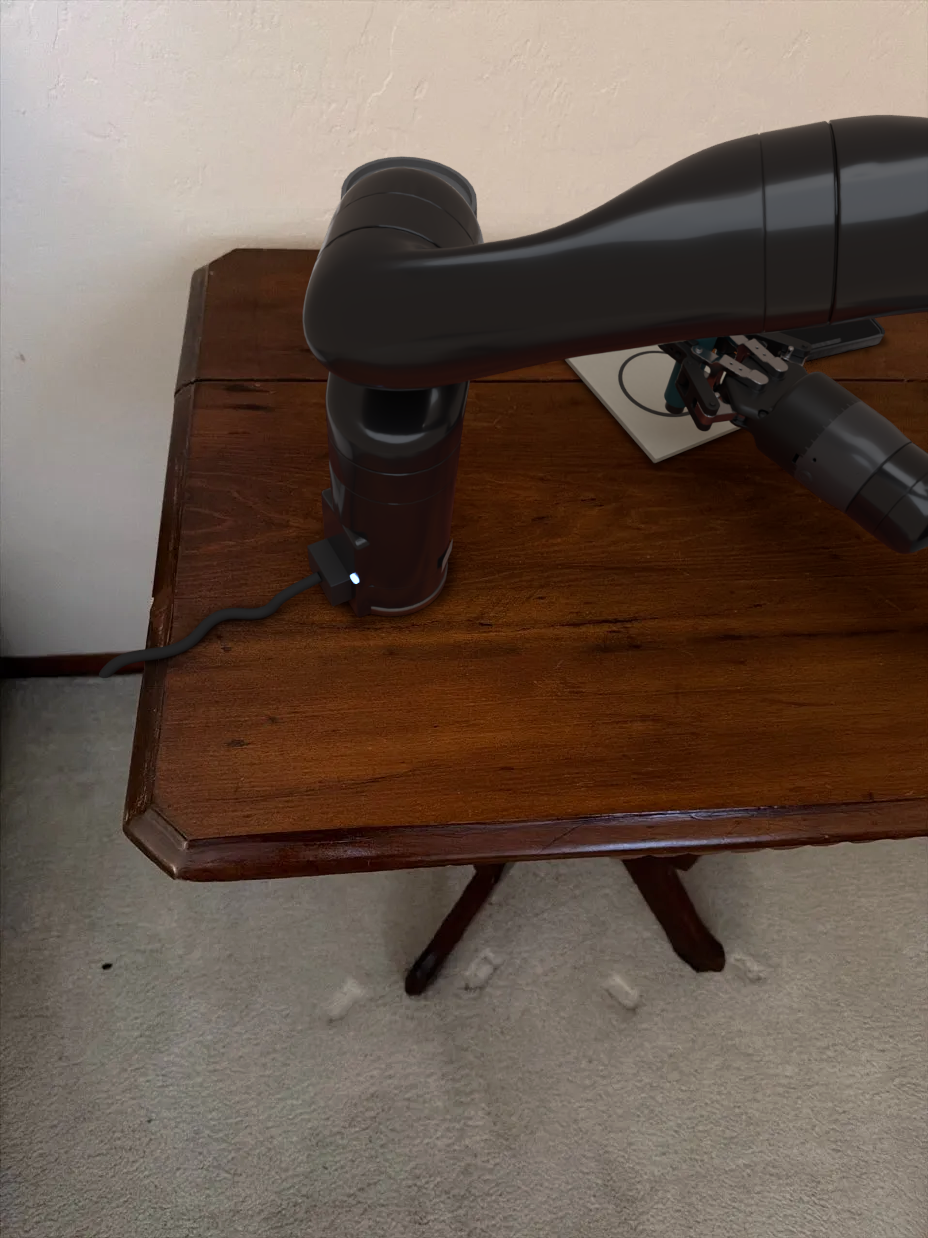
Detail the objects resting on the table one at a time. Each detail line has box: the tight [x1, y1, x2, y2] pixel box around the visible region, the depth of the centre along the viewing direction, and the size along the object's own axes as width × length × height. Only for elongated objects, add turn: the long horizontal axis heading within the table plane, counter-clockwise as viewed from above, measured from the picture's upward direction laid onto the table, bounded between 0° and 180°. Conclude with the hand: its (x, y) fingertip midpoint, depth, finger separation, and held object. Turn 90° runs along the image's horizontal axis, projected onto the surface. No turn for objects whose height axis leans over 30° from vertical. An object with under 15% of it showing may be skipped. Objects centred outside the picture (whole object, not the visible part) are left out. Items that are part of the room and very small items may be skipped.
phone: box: [753, 318, 886, 362], centre depth 95 cm, size 8×1×15 cm
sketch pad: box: [564, 345, 741, 464], centre depth 89 cm, size 14×16×1 cm
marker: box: [664, 337, 717, 414], centre depth 76 cm, size 3×3×13 cm
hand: (673, 323), depth 76 cm, fingers closed on marker, 2 cm apart
